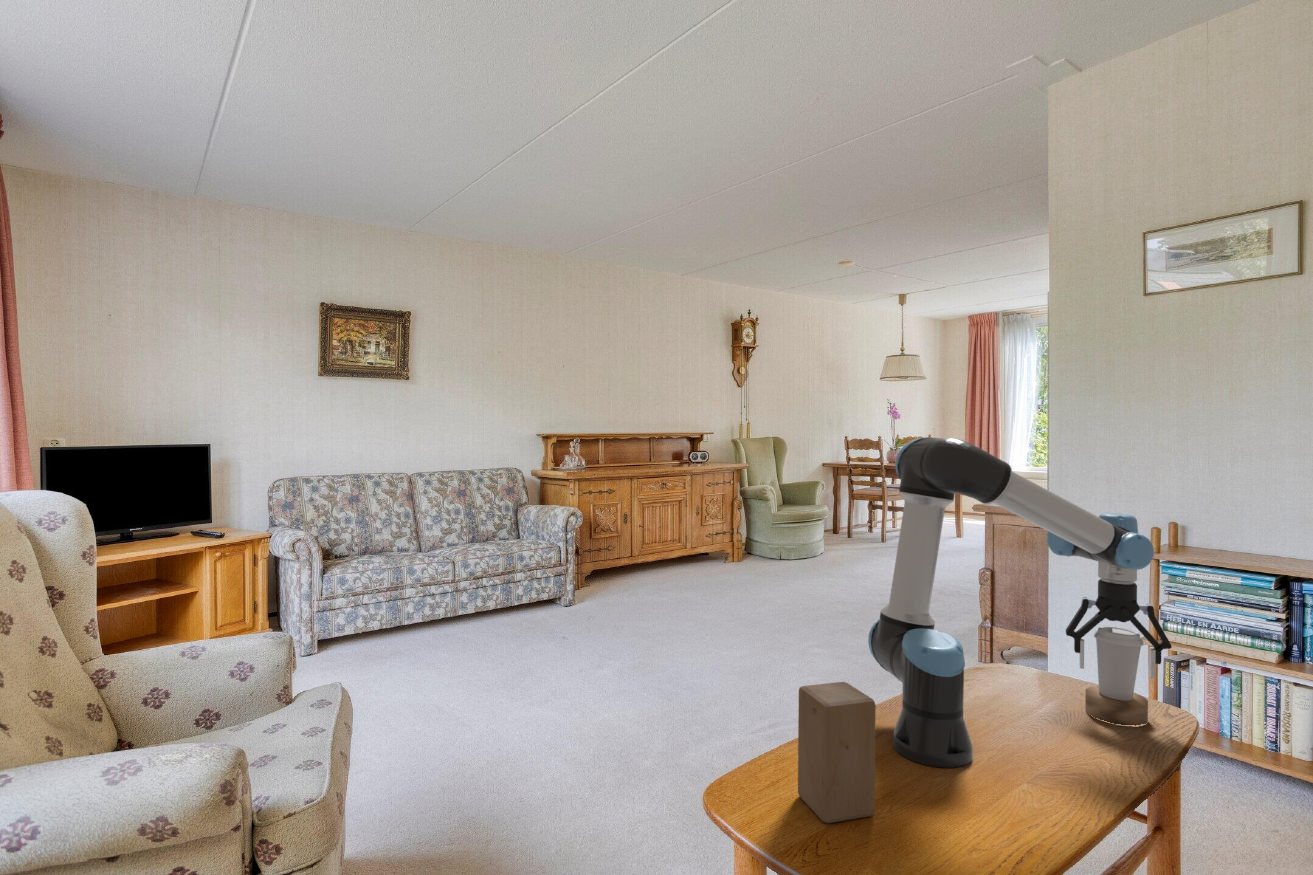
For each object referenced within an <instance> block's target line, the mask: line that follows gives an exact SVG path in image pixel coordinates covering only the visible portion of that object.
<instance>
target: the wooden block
mask: <svg viewBox="0 0 1313 875" xmlns="http://www.w3.org/2000/svg"><path fill="white" fill-rule="evenodd" d="M797 723H798V730H797V731H798V734H797V736H798V737H797V739H798V740H797V751H798V752H797V793H798V796H799V798H800V799H801V800H802V801H803V802H804V803H805V804H806V805H807V806H808V807H809V808H810V810H812V812H813V813H815V815H816V816H817V817H818V818H819V819H820V820H821V821H822V822H823V823H826V824H831V823H838V822H844V821H849V820H856V819H860V818H861V819H862V818H866V817H872V816H873V815H874V814H875V812H876V810H875V809H876V808H875V806H876V805H875V804H876V802H875V801H876V798H875V796H876V794H875V793H876V792H875V791H876V786H875V785H876V781H875V780H876V703H875V700H874V699H873V698H872V697H870V696H868V695H867V694H865V693H863V692H862V691H861V690H859V689H858V688H856V687H854V686H853V685H851V684H850V683H848V682H846V681H837V682H830V683H828V682H827V683H820V684H819V683H818V684H817V683H816V684H811V685H810V684H809V685H802V686H799V688H798V722H797Z"/></svg>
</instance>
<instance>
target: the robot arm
mask: <svg viewBox="0 0 1313 875" xmlns="http://www.w3.org/2000/svg"><path fill="white" fill-rule="evenodd" d="M894 464H895V465H894V467H895V472H896V474H897V476H898V478H899V480H900V482H899V483H900V484H899V490H898V494H900V496H901V498H902V499H903V501H904V504H903V505H904V506H903V512H902V516H901V517H902V518H901V524H900V530H899V537H898V542H897V544H898V545H897V550H896V557H895V563H894V568H893V576H892V582H891V587H890V588H891V589H890V595H889V603H888V604H887V605H885V606H884V607H883V608H882V609H881V610H880V613H879V619H878V620H877V621H876V622H874V623H873V624H872V626H871V628H870V630H869V633H868V638H867V641H868V648H869V652H870V654H871V655H872V657H873V659H874V660H875V661H876V663H877V664H879V666H880V667H881V668H882V669H884V670H885V671H886V672H888V673H890V674H891V675H893V676H894V677H895V678H896V679H897V680H898V681H900V682H901V683H902V693H901V694H902V699H901V700H902V704H901V705H902V706H901V708H902V709H901V711H900V713H899V716H898V719H897V721H896V725H895V728H894V730H893V735H892V738H893V739H892V744H893V748H894V749H895V751H896V752H897V753H898V754H900V755H901V756H902V757H904V758H906V759H908V760H910V761H913V762H916V763H919V764H922V765H926V766H930V767H937V768H958V767H959V768H960V767H963V766H966V765H968V764H970V763H971V762H972V760H973V749H974V748H973V743H972V740H971V738H970V735H969V732H968V731H969V730H968V729H967V725H966V722H965V719H964V695H965V694H964V692H965V691H964V690H965V689H964V688H965V687H964V685H965V683H964V682H965V681H964V680H965V666H966V663H965V662H966V661H965V655H964V653H965V652H964V648H963V646H962V644H961V642H960V641H959V640H958V639H957V638H955V637H954V636H952V635H951V634H949V633H946V632H940V631H939V630H937V629H935V623H936V621H935V620H934V618H933V617H932V616H931V614H930V607H931V600H932V593H933V588H934V582H935V576H936V575H935V574H936V569H937V562H938V555H939V550H940V543H941V537H942V536H941V535H942V531H943V530H942V529H943V525H944V524H943V522H944V517H945V512H946V511H945V510H946V507H948V506H949V505H951V504H952V503H953V502H954V501H955V495H960V496H961V495H962V496H965V497H968V498H971V499H974V500H976V501H978V502H980V503H982V504H985V505H989V504H995V506H996V505H997V506H998V507H1000V508H1003V509H1004V510H1006V511H1008V512H1010V513H1012V514H1014V515H1016V516H1018V517H1020V518H1022V520H1023V519H1024V520H1025V521H1027V522H1030V523H1031V524H1033V525H1035V526H1037V527H1039V528H1041V529H1043V530H1045V531H1047V534H1046V536H1047V537H1046V538H1047V539H1046V542H1047V545H1048V547H1049V549H1050V551H1051V552H1052V553H1053V554H1054V555H1057V556H1063V557H1067V558H1069V557H1080V558H1084V559H1087V560H1093V561H1097V562H1098V563H1097V566H1098V567H1097V576H1098V578H1099V580H1098V581H1097V598H1096V599H1090V598H1088V597H1086V596H1083V597H1082V598H1081V605H1080V607H1079V608H1078V610H1077V611H1076V613H1075V615H1074V616H1073V618H1072V620H1071V621H1070V622H1069V624H1068V626H1067V627H1066V628H1065V634H1066V636H1067V637H1071V638H1073V641H1074V642H1073V643H1074V644H1073V646H1074V647H1073V649H1074V652H1075V654H1079V669H1083V670H1084V669H1085V638H1084V636H1085V635H1087V634H1088V633H1089V632H1090V631H1092V629H1094V628H1095V627H1097V625H1099V623H1101V622H1103V621H1104V620H1105V619H1106V620H1108V621H1110V622H1121V623H1127V622H1131V623H1132V625H1133V626H1134V627H1135V628H1136V629H1137V630H1138V631H1139V632H1140V634H1142V635H1143V637H1144V638H1145V639H1146V640H1147V641H1148V642H1149V643H1150V644H1151V646H1149V662H1148V663H1149V665H1148V666H1149V667H1148V668H1149V670H1148V671H1149V673H1148V675H1149V677H1150V679H1151V680H1156V665H1161V663H1162V651H1163V650H1170V649H1172V647H1173V646H1172V644H1171V642H1170V640H1169V638H1168V637H1167V635H1166V633H1165V631H1164V630H1163V628H1162V626H1161V624H1160V623H1159V621H1158V619H1157V617H1156V614H1155V608H1154V606H1153V604H1151V603H1146V604H1138V584H1137V583H1136V582H1137V580H1138V570H1144V569H1145V568H1147V567H1148V566H1149V565H1150V564H1151V563H1152V560H1153V557H1154V554H1155V549H1154V545H1153V543H1152V541H1151V540H1150V539H1149V538H1148V537H1147V536H1145V535H1144V534H1140V533H1139V530H1138V529H1139V528H1138V520H1137V519H1138V518H1136V517H1135V516H1134V515H1131V514H1127V513H1116V512H1115V513H1114V512H1113V513H1111V512H1105V513H1100V514H1099V516H1097V515H1096V514H1093V513H1092V512H1090V511H1088V510H1086V509H1085V508H1082V507H1081V506H1078V505H1076V504H1075V503H1073V502H1071V501H1069V500H1067V499H1065V498H1063V497H1061V496H1059V495H1058V494H1055V493H1054V492H1052V491H1051V490H1049V489H1047V488H1044V487H1042V486H1040V485H1039V484H1037V483H1035V482H1033V481H1031V480H1029V479H1027V478H1026V477H1024V476H1022V475H1020V474H1018V473H1016V472H1015V471H1013V469H1012V466H1011V465H1010V464H1009V463H1008V462H1007V461H1004V460H1002V459H1000V458H998V457H996V456H995V455H993V454H991V453H990V452H988V451H986V450H985V449H982V448H981V447H978V446H976V445H974V444H973V443H971V442H969V441H966V440H963V439H960V438H956V437H955V438H954V437H927V436H926V437H920V438H915V439H912V440H910V441H909V442H907V443H906V444H905V445H903V446H902V447H901V448H900V450H899V451H898V453H897V455H896V458H895V463H894ZM1093 606H1095V607H1096V608H1097V610H1098V612H1097V613H1095V615H1093V617H1091V618H1090V619H1089V620H1088V621H1087V622H1085V623H1084V625H1082V626H1081V627H1080V628H1079V629H1078V630H1076V629H1077V627H1078V626H1079V624H1080V622H1082V620H1083V618H1084V616H1085V615H1086V614H1087V611H1088V609H1092V607H1093ZM1140 611H1142V613H1143V614H1144V615H1145V616H1147V617H1148V618H1149V621H1150V623H1151V624H1152V626H1153V628H1154V630H1155V631H1156V634H1157V635H1158V637H1159V638H1160V640H1161V641H1158V640H1157V639H1156V638H1155V637H1154V636H1153V635H1152V634H1151V633H1150V632H1149V631H1148V629H1147V627H1145V626H1144V625H1143V624H1142V623H1141V622H1140V621H1139V620H1138V619H1137V617H1136V614H1137V613H1139V612H1140Z"/></svg>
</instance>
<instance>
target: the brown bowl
mask: <svg viewBox="0 0 1313 875" xmlns="http://www.w3.org/2000/svg"><path fill="white" fill-rule="evenodd" d="M1084 699H1085V704H1084V705H1085V710H1086V711H1085V713H1086V712H1087V713H1088V714H1090V715H1092V716H1093V717H1095V718H1098V719H1100V720H1104V721H1107V722H1110V723H1114V724H1121V725H1135V726H1136V725H1141V724H1146V723H1147V722H1148V723H1149V701H1148V699H1147V698H1146V697H1145V696H1143V695H1141V694H1139V693H1136V692H1134V693H1133V699H1132V700H1130V701H1122V700H1116V699H1112V698H1108V697H1106V696H1103V695H1101V694H1100V693H1099V685H1097V686H1096V685H1094V686H1093V685H1092V686H1089V687H1086V689H1085V698H1084ZM1087 713H1086V714H1087ZM1088 714H1087V715H1088Z"/></svg>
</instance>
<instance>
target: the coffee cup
mask: <svg viewBox="0 0 1313 875" xmlns="http://www.w3.org/2000/svg"><path fill="white" fill-rule="evenodd" d="M1140 634H1141V633H1139V632H1137V631H1135V630H1132V629H1128V628H1125V627H1118V626H1113V625H1112V626H1110V625H1101V626H1098V628H1097V630H1096V631H1095V632H1094V634H1093V637H1094V638H1095V640H1096V641H1095V642H1096V658H1097V661H1096V662H1097V678H1098V680H1097V681H1098V686H1099V693H1100V694H1101V695H1103V696H1106V697H1108V698H1112V699H1116V700H1122V701H1130V700H1132V699H1133V693H1135V685H1136V680H1137V673H1138V666H1139V662H1140V661H1139V660H1140V654H1141V648H1142V647H1143V646H1144V641H1143V639H1142V637H1141V635H1140Z"/></svg>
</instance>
